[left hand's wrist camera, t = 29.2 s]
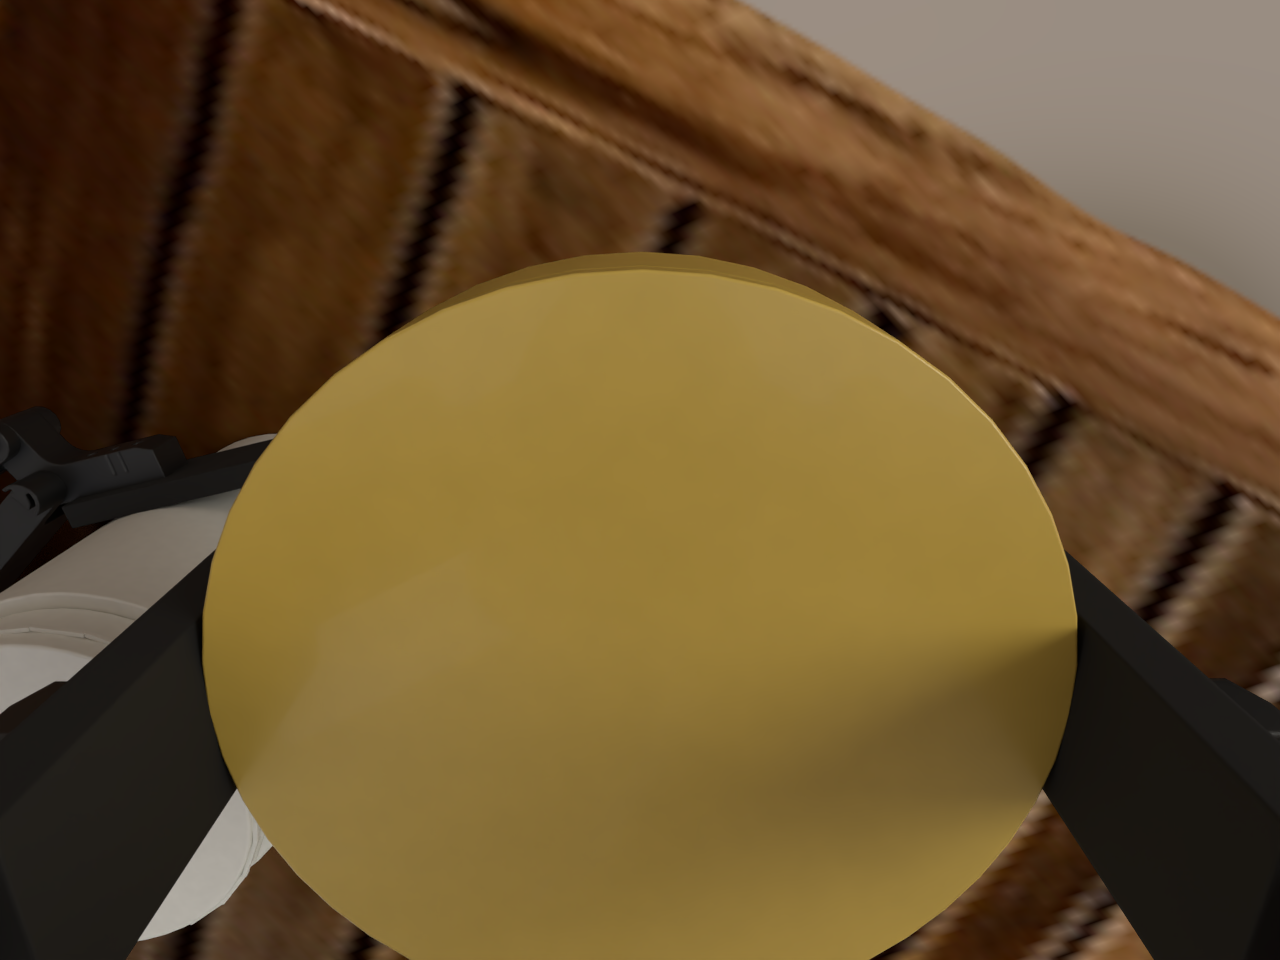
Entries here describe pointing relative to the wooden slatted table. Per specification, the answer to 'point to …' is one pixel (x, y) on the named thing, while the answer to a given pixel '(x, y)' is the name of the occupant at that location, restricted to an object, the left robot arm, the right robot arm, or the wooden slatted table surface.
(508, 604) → the lid
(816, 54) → the wooden slatted table surface
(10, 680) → the jar
